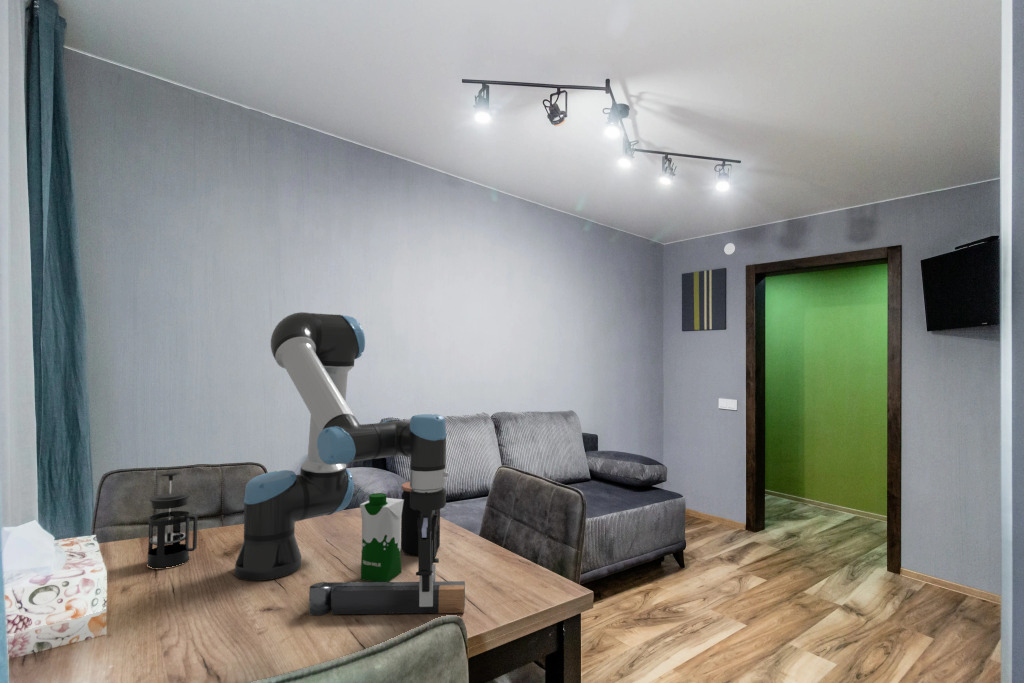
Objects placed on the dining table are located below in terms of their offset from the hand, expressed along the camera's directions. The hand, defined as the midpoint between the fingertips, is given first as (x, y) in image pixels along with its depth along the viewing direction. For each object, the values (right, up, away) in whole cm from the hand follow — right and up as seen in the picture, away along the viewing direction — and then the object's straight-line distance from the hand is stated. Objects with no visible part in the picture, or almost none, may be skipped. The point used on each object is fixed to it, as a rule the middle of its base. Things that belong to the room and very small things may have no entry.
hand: (427, 600), depth 113 cm
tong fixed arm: (-8, -2, 0) cm, 9 cm away
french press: (-70, -3, +26) cm, 75 cm away
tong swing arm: (-6, -2, -1) cm, 6 cm away
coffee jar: (-8, -3, +36) cm, 37 cm away
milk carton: (-14, -3, +18) cm, 23 cm away
